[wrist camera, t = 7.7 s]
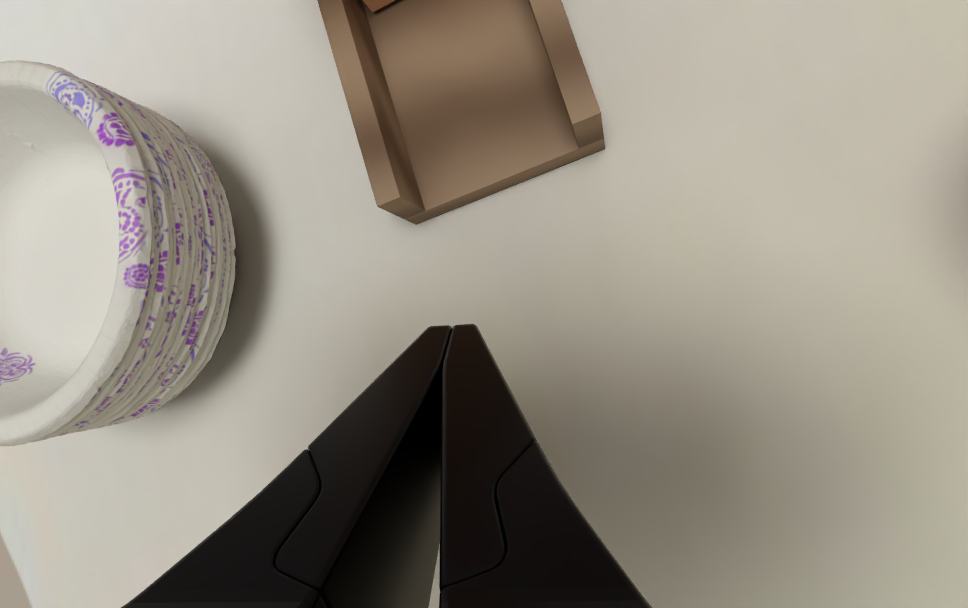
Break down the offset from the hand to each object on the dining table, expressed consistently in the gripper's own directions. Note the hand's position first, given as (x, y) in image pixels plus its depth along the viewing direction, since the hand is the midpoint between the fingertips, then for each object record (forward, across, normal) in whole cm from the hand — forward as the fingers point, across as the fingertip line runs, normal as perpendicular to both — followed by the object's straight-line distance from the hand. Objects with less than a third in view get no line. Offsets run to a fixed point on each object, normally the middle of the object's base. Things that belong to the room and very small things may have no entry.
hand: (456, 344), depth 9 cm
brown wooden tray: (+19, +1, -5) cm, 20 cm away
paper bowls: (+16, +18, +6) cm, 25 cm away
